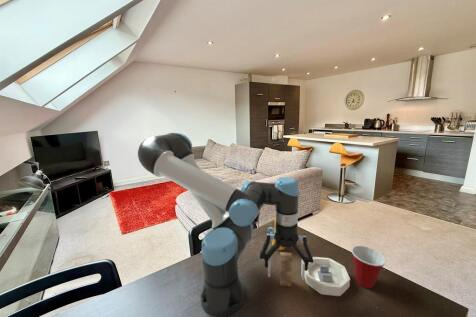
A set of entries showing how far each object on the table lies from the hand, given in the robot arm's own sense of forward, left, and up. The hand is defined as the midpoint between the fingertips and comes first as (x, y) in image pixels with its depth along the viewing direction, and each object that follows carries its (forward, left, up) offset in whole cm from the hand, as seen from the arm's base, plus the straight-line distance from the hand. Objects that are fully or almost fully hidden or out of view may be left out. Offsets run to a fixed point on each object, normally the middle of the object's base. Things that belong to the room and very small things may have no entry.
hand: (285, 275), depth 79 cm
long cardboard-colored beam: (0, 0, -3) cm, 3 cm away
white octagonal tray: (+15, +4, -3) cm, 16 cm away
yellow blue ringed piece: (-2, +22, -3) cm, 22 cm away
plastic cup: (+29, +4, -3) cm, 29 cm away
